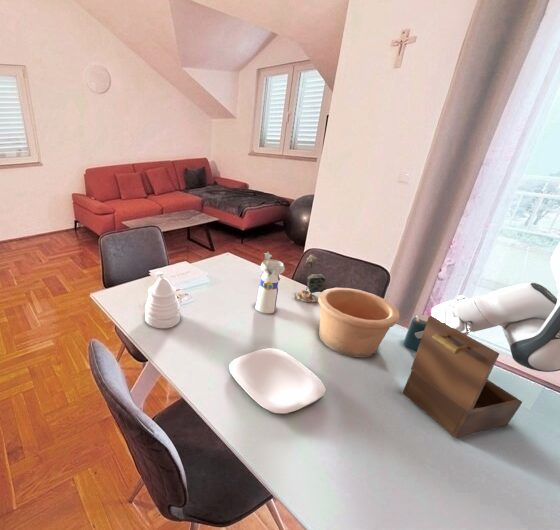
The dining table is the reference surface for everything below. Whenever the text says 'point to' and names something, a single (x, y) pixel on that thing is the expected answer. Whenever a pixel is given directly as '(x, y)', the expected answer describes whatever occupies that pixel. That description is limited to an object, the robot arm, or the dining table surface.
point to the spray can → (416, 325)
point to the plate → (276, 380)
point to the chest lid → (453, 363)
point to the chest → (458, 422)
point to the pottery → (354, 320)
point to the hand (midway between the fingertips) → (416, 330)
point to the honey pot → (162, 304)
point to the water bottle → (268, 285)
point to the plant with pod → (312, 284)
